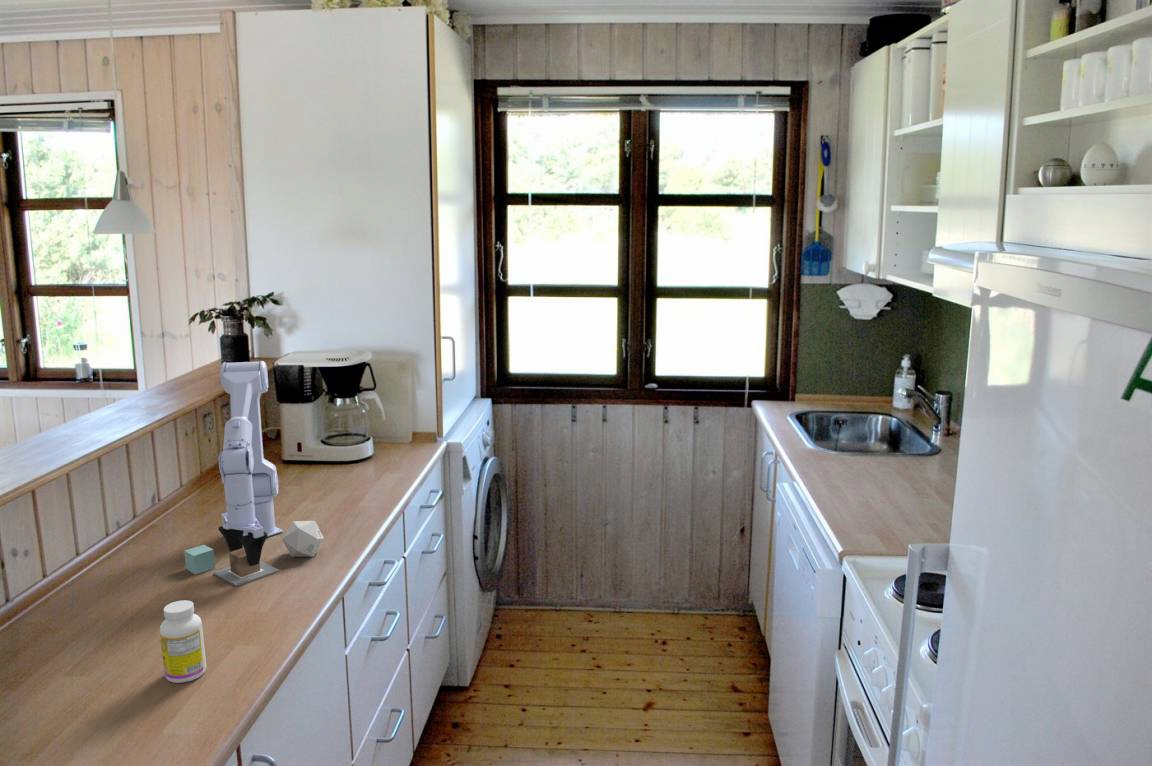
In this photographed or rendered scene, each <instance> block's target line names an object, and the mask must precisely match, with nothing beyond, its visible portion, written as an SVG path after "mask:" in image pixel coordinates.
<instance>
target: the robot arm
mask: <svg viewBox="0 0 1152 766" xmlns="http://www.w3.org/2000/svg"><path fill="white" fill-rule="evenodd" d="M268 373H269V372H268V366H267V363H266V362H265V361H264V360H260V361H242V362H238V361H237V362H222V364H221V365H220V369H219V374H220V375H219V376H220V383H221V387H222V388H223V389H224V391H225V393H227V394H229V395H230V396H229V397H230V419H229V420H227V421H226V422H225V424H224V432H223V434H224V435H223V444H222V445H223V447H222V451H220V452H219V455H218V468H219V469H218V470H219V474H220V476H221V483H222V485H224V486H223V487H224V497H225V506H226V507H225V508H226V512H223V513H221V514H220V515H221V516H220V517H221V522H222V525H221V526H219V527H218V531H219V533H220V534H221V535H222V536H223V539H224V540H225V542H226V543H225V544H226V545H227V548H228V551H229V552H232V551H235V550H239V549H242V548H244V549H245V552H246V557H247V561H248V564H249V566H254V565H257V564H259V562H260V560H261V555H262V550H263V547H264V544H265V542H266V540H267V538H268V537H271V536H275V535H278V534H280V533H283V531H284V530H283V529H281V528H279V527H277V526H276V520H275V518H276V517H275V508H274V507H275V506H274V505H275V504H274V498H276V497H277V495H278V494H279V477H278V473H277V472H278V471H277V467H276V465H275V464H273V462H270V461H269V460H267V459H266V458H264V446H263V445H264V444H263V432H262V418H261V406H260V405H261V404H260V401H261V400H260V399H261V396H262V394H265V393H268V389H269V377H268V375H269V374H268Z"/></svg>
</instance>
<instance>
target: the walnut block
mask: <svg viewBox="0 0 1152 766" xmlns="http://www.w3.org/2000/svg"><path fill="white" fill-rule="evenodd" d="M228 554H229V563H230V565H229V567H231V572H233V573H234V574H236V575H238V576H240V577H243V576H246V575H249V574H252V573H255V572H258V571H260V562H259V564H257V565H254V566H249V564H248V561H247V557H246V552H245V549H244V547H242V549H239V550H235V551H232V552H230V551H229V552H228Z"/></svg>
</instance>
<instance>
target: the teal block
mask: <svg viewBox="0 0 1152 766" xmlns="http://www.w3.org/2000/svg"><path fill="white" fill-rule="evenodd" d="M183 552H184V560H185V561H184V562H185V569H186V570H187V571H189V572H190V573H192V574H194V575H199V574H202V573H205V572H208V571H211V570H214V569H216V562H215V561H216V560H215V554H214V553H215V551H214V548H211V547H209V546H208V545H206V544H201V545H197V546H195V547H191V548H188V549H184V551H183Z"/></svg>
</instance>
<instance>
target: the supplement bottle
mask: <svg viewBox="0 0 1152 766" xmlns="http://www.w3.org/2000/svg"><path fill="white" fill-rule="evenodd" d="M194 605H195V604H194V602H193V601H192V600H187V599H185V600H177V601H173V602H170V603H169V604H166V605H165V607H164V608H163V616H164V618H165V619H164V620H163V621H162V623H161V624H160V626H159V636H160V637H159V639H160V644H161V645H160V646H161V653H162V661H163V663H162V664H163V670H164V671H163V672H164V677H165V679H166V680H167V681H168V682H171V683H174V684H180V683H188V682H190V681H191V682H192V681H194V680H196V679H198V678H199V677H200V678H201V676H202V675H203V674H205V672H206V670H207V657H206V649H205V639H204V632H203V631H204V630H203V623H202V619H201V617H200V616H199V615H198V614H195V613H194V612H195V606H194Z"/></svg>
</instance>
